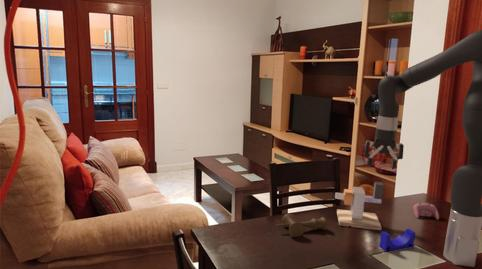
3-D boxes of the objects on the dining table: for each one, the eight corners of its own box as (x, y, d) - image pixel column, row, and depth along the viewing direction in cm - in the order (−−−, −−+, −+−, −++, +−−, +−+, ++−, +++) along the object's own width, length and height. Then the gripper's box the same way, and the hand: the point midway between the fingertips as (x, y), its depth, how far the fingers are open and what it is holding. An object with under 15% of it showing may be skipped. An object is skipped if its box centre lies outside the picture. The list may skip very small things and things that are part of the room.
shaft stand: (381, 230, 138) (385, 198, 135) (339, 225, 140) (342, 193, 138) (374, 216, 150) (378, 186, 147) (336, 212, 153) (339, 183, 150)
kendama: (330, 236, 132) (280, 238, 127) (318, 225, 141) (271, 227, 137) (331, 221, 131) (281, 223, 126) (320, 211, 140) (273, 212, 136)
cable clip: (404, 241, 130) (406, 226, 128) (412, 248, 125) (415, 232, 124) (376, 245, 126) (378, 229, 125) (384, 251, 122) (386, 235, 121)
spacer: (351, 205, 142) (353, 193, 141) (344, 204, 142) (345, 192, 141) (350, 200, 147) (351, 189, 146) (342, 199, 147) (344, 188, 146)
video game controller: (435, 220, 153) (434, 204, 155) (440, 219, 149) (439, 203, 150) (412, 218, 154) (411, 202, 156) (416, 218, 150) (415, 201, 151)
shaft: (381, 204, 141) (383, 185, 139) (335, 199, 144) (337, 180, 142) (379, 201, 144) (382, 182, 142) (334, 196, 147) (336, 178, 145)
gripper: (369, 128, 134) (364, 168, 137) (408, 131, 131) (402, 172, 135) (365, 124, 141) (361, 163, 144) (403, 127, 139) (397, 166, 142)
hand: (381, 167), depth 139 cm, fingers open, 8 cm apart
